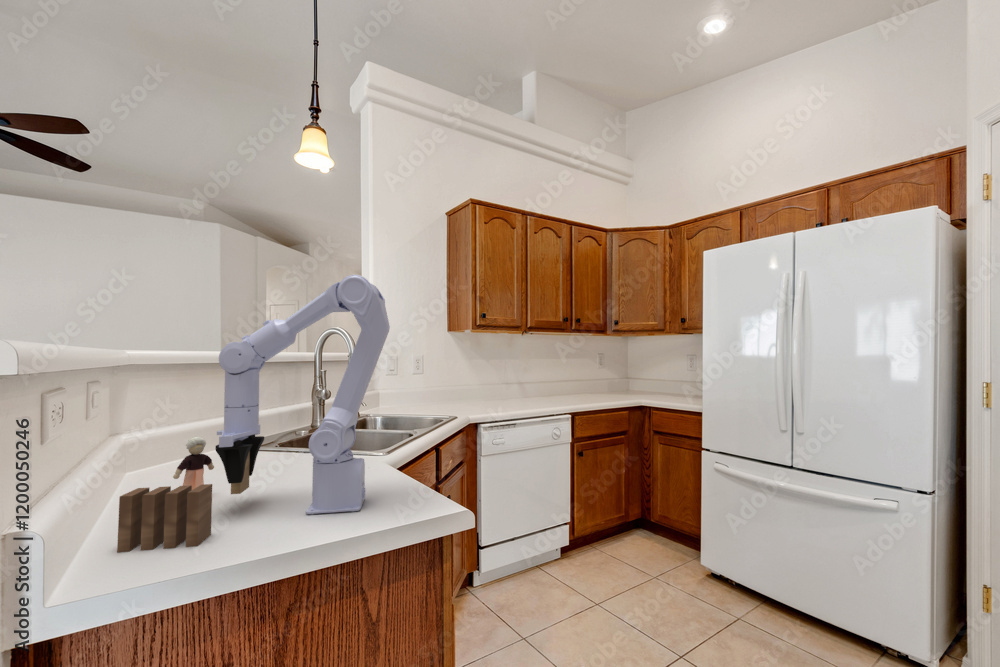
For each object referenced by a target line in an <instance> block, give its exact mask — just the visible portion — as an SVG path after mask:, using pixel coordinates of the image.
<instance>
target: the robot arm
mask: <svg viewBox="0 0 1000 667" xmlns="http://www.w3.org/2000/svg"><path fill="white" fill-rule="evenodd" d="M350 312H351V313H352V314H353V316H354V317H355V320H356V321H357V323H358V324H357V325H358V326H359V327H360V332H359V335H358V338H357V341H356V344H355V346H354V348H353V350H352V354H351V356H350V359H349V361H348V364H347V366H346V369H345V371H344V374H343V377H342V379H341V382H340V384H339V386H338V389H337V391H336V394H335V397H334V399H333V402H332V404H331V407H330V408H329V410H328V411H327V413H326V414H325V416H323V419H322V421H321V423H320V426H319V427H318V428H317V429H315V431H314V432H313V433H312V434H311V436H310V437H309V441H308V450H309V453H310V454H311V456H312V487H311V489H312V490H311V492H312V494H311V495H312V496H311V498H312V500H311V504H310V505H309V507H308V508H307V509H306V510H305V514H306V515H312V514H313V515H315V514H328V513H343V512H356V511H357V512H358V511H360V510H361V509H362V507H363V504H364V501H365V499H366V485H365V484H366V483H365V482H366V481H365V480H366V478H365V474H366V468H365V465H366V462H365V458H363V457H354V453H353V452H352V449H351V448H352V447H353V446H354V444H355V442H356V438H357V434H356V433H357V432H356V427H357V423H358V420H359V418H358V417H359V416H358V414H359V411H360V407H361V406H362V404H363V403H362V402H363V401H364V397H365V395H366V393H367V389H368V387H369V384H370V382H371V379H372V377H373V374H374V372H375V369H376V367H377V364H378V361H379V358H380V356H381V353H382V350H383V348H384V346H385V343H386V340H387V338H388V335H389V332H390V327H391V326H390V322H389V321H390V320H389V317H388V313H387V307H386V299H385V297H384V296H383V295H382V293H381V291H380V290H379V288H378V287H377V286H376V285H374V284H373V283H371V282H370V281H369V280H368V279H367V278H366V277H364V276H362V275H360V274H350V275H347V276H345V277H344V278H343V279H342V280H341V281H340V282H339V281H337V282H335V283H333V284H331V285H330V286H329V287H328V288H327V289H326V290H324V291H323V292H322V293H321V294H319V295H318V296H316V297H315V298H314V299H312V300H311V301H309V302H307V304H305V305H304V306H302V307H301V308H300V309H298V310H297V311H296V312H294V313H293V314H292V315H290V316H289V317H287V318H285V319H280V318H274V319H272V320H271V319H267V320H265V321H264V322H262V325H263V326H262V327H260V328H259V329H257V330H256V331H254V332H252V333H251V334H250V335H246V334H245V335H244V336H242V337H241V341H231V342H228V343H226V345H225V346H224V347H223V348H222V349H221V351H220V352H219V356H218V363H219V366H220V367H221V369H223V370H222V371H224V392H223V393H224V394H223V395H224V399H223V402H224V403H223V410H224V411H223V429H220V430H218V431H216V436H218V444H217V445H215V452H216V453H217V455H218V456H219V459H220V460H221V462H222V464H223V469H224V472H225V475H226V480H227V483H228V484H229V485H231V483H241V482H242V480H243V477H244V471H245V464H246V460H247V456H248V453H249V451H250V469H249V477H251V476H252V475H253V473H254V468H255V464H256V461H257V457H258V454H259V451H260V449H261V447H262V445H263V443H264V441H265V436H264V435H263V436H261V435H260V434H261V424H259V423H260V422H259V421H260V420H259V419H260V418H259V417H260V372H261V370H262V369H263V368H264V366H265V365H266V362H267V361H269V360H270V359H272V358H273V357H275V356H277V355H278V354H279V353H281V352H283V351H284V350H285V349H288V348H289V347H290V346H291V345H294V344H295V342H296V338H297V334H298V333H300V332H302V331H303V330H305V329H307V328H309V327H310V326H312V325H314V324H315V323H316V322H318V321H320V320H322V319H323V318H325V317H327V316H329V315H330V314H333V313H350ZM256 435H259V436H256Z"/></svg>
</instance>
